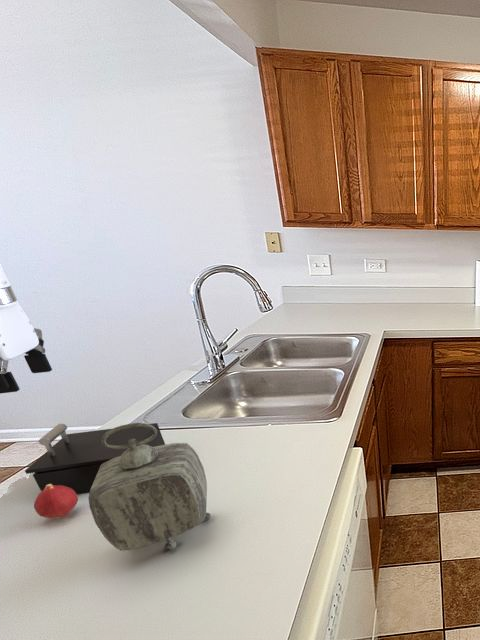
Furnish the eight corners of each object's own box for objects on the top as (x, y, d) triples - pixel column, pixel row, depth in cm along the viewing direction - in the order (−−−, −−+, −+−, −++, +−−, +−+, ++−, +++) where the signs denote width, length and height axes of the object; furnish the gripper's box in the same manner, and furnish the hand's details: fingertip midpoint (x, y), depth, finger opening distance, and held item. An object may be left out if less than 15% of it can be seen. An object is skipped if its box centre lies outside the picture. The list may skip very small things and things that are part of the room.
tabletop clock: (218, 510, 80) (181, 402, 70) (218, 541, 73) (177, 426, 63) (126, 541, 73) (72, 425, 63) (117, 578, 66) (54, 455, 56)
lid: (26, 474, 80) (14, 451, 78) (67, 436, 93) (58, 416, 90) (132, 458, 85) (123, 436, 83) (158, 425, 98) (151, 405, 96)
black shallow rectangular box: (45, 500, 83) (32, 475, 81) (83, 460, 95) (73, 438, 93) (142, 483, 88) (132, 459, 85) (166, 447, 100) (158, 425, 98)
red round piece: (35, 524, 77) (16, 492, 74) (70, 503, 82) (54, 472, 79) (57, 530, 76) (39, 497, 73) (91, 508, 81) (75, 477, 78)
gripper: (-5, 290, 80) (32, 367, 87) (-86, 312, 65) (-34, 404, 72) (41, 288, 82) (74, 363, 89) (-26, 309, 67) (19, 398, 74)
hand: (26, 381), depth 80 cm, fingers open, 9 cm apart
